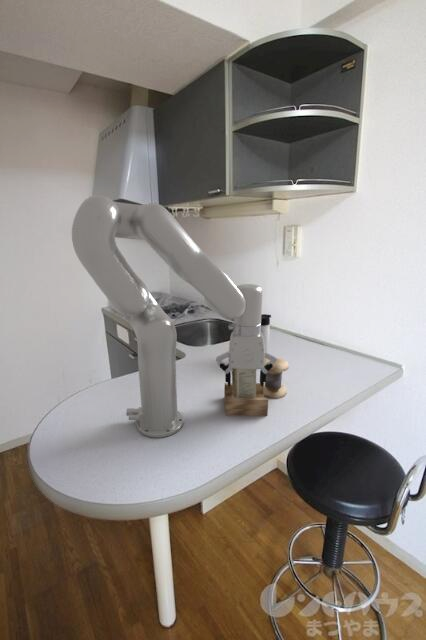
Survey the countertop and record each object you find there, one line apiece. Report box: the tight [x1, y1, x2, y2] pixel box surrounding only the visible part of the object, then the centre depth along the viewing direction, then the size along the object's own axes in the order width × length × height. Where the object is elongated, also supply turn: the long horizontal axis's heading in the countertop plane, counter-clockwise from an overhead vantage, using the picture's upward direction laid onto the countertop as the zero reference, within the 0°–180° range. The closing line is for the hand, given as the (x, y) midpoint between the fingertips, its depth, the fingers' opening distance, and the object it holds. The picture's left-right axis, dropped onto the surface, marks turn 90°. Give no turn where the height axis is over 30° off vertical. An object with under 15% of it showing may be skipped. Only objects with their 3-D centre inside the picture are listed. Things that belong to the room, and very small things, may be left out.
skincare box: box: [231, 367, 257, 398], centre depth 93 cm, size 6×4×12 cm
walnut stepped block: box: [224, 382, 269, 417], centre depth 95 cm, size 12×10×5 cm
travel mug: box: [261, 313, 272, 354], centre depth 122 cm, size 6×7×20 cm
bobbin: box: [263, 357, 290, 399], centre depth 103 cm, size 9×9×10 cm
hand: (245, 384), depth 93 cm, fingers open, 9 cm apart
